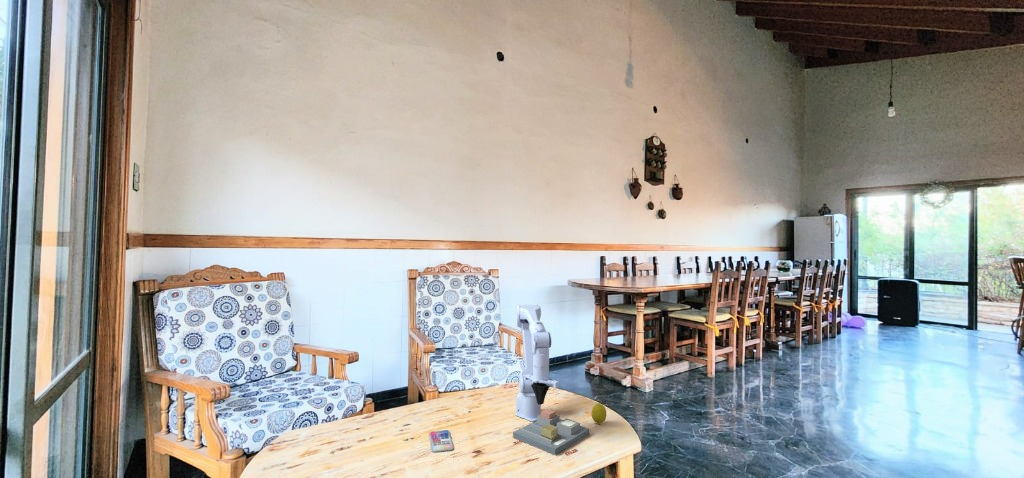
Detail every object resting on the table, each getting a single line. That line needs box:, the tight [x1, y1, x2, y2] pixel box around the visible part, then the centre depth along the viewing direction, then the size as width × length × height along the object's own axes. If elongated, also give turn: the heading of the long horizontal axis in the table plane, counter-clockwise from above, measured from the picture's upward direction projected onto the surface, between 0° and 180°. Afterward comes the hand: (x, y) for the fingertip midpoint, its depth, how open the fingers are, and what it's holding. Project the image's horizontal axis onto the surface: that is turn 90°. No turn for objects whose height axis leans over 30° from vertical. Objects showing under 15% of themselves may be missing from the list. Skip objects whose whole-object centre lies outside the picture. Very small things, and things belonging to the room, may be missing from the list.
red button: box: [541, 408, 557, 420], centre depth 161 cm, size 4×4×2 cm
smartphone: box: [428, 429, 455, 454], centre depth 148 cm, size 7×1×15 cm
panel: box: [512, 414, 591, 456], centre depth 154 cm, size 18×21×4 cm
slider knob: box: [541, 424, 558, 441], centre depth 148 cm, size 4×4×4 cm
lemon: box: [591, 402, 607, 425], centre depth 165 cm, size 6×6×8 cm
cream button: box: [561, 419, 577, 427], centre depth 155 cm, size 4×4×2 cm
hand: (540, 403), depth 157 cm, fingers closed
